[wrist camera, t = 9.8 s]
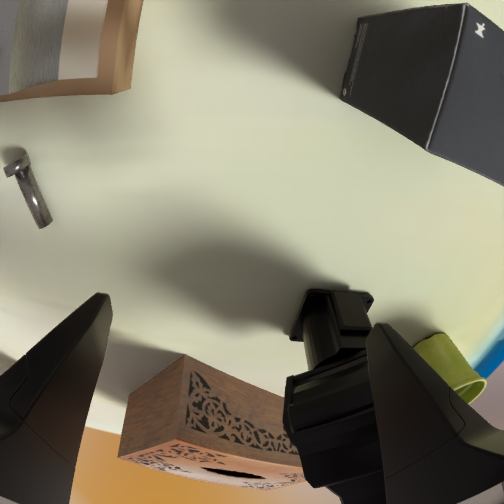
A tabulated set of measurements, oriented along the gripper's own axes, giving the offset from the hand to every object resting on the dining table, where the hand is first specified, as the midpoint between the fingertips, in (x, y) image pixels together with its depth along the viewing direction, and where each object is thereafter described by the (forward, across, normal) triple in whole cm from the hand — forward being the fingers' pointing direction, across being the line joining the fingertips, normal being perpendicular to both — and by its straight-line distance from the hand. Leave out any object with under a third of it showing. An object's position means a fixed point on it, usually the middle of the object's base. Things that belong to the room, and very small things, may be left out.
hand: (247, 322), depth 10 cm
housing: (+9, +14, -10) cm, 19 cm away
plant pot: (+13, -26, +17) cm, 34 cm away
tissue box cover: (+13, -4, +33) cm, 36 cm away
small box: (+13, -10, -9) cm, 19 cm away
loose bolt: (+12, +16, +3) cm, 21 cm away
